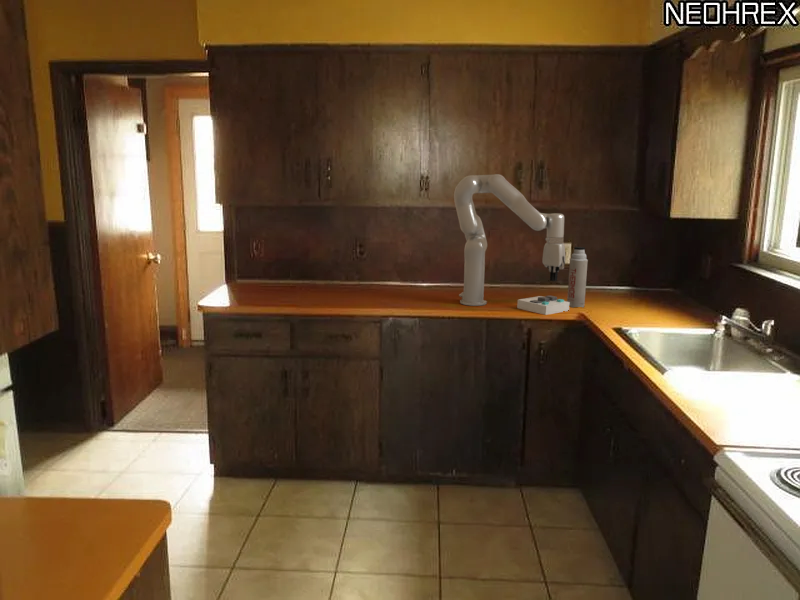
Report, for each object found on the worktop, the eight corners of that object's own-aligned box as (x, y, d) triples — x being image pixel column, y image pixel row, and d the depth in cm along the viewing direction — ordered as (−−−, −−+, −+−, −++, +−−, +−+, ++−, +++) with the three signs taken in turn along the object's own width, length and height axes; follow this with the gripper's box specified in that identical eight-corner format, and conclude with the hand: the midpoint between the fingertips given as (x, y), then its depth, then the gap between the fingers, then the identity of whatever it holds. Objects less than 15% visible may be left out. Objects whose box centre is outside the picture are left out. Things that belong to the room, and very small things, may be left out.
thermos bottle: (573, 308, 307) (577, 248, 301) (563, 304, 314) (567, 246, 309) (587, 307, 310) (592, 247, 304) (577, 303, 317) (581, 245, 312)
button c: (544, 303, 307) (545, 296, 306) (549, 302, 309) (549, 295, 308) (552, 305, 304) (552, 297, 303) (556, 304, 306) (557, 296, 305)
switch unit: (517, 308, 305) (517, 297, 304) (540, 304, 315) (541, 293, 314) (545, 314, 292) (546, 303, 291) (569, 310, 302) (569, 299, 301)
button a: (529, 308, 301) (530, 300, 300) (534, 307, 303) (534, 299, 302) (536, 309, 298) (537, 302, 297) (541, 309, 300) (541, 301, 299)
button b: (537, 304, 304) (537, 297, 303) (542, 303, 306) (542, 296, 305) (544, 306, 301) (544, 298, 300) (549, 305, 302) (549, 298, 302)
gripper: (536, 240, 304) (535, 279, 308) (562, 242, 292) (561, 283, 296) (547, 239, 308) (546, 277, 312) (573, 241, 297) (571, 281, 300)
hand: (553, 280), depth 304 cm, fingers closed
